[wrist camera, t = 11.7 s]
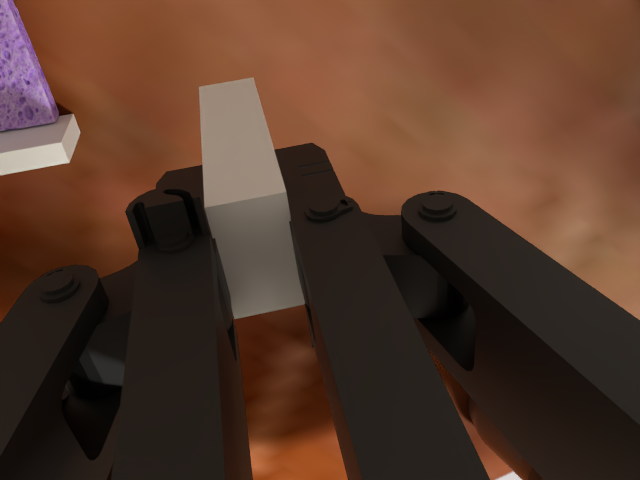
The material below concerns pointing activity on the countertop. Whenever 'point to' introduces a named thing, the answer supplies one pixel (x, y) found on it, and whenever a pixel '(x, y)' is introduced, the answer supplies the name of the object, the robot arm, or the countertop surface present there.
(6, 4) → the sponges
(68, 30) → the countertop surface
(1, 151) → the box
